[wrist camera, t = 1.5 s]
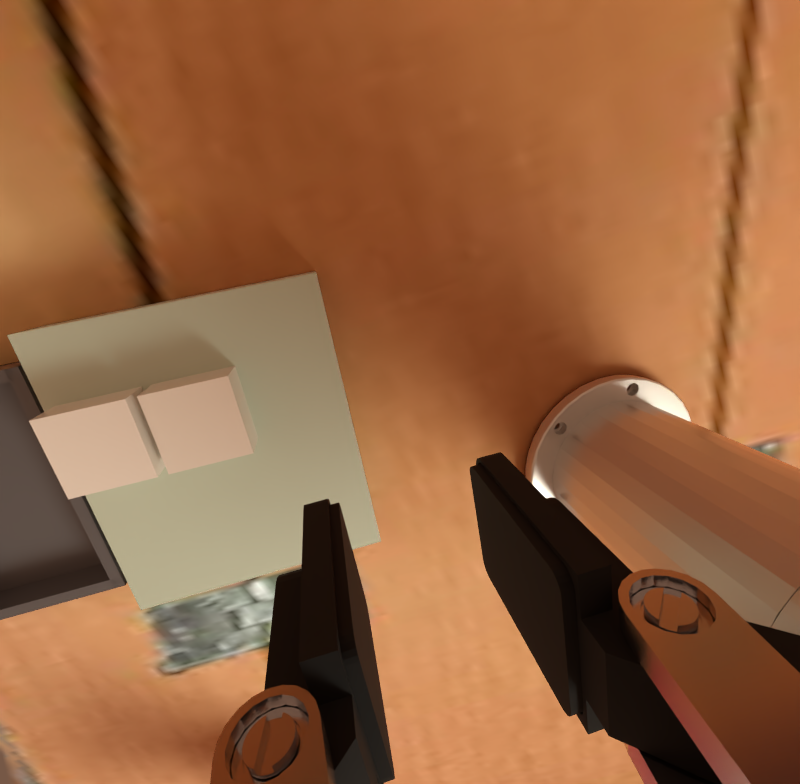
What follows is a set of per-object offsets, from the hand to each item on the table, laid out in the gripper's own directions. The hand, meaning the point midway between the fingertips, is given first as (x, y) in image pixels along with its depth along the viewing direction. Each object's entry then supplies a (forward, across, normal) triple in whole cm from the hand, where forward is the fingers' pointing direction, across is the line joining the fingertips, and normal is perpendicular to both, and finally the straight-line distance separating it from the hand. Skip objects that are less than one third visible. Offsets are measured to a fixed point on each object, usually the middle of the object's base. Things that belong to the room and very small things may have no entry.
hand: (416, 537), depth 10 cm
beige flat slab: (+17, +8, +2) cm, 19 cm away
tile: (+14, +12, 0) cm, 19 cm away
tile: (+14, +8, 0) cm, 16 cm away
